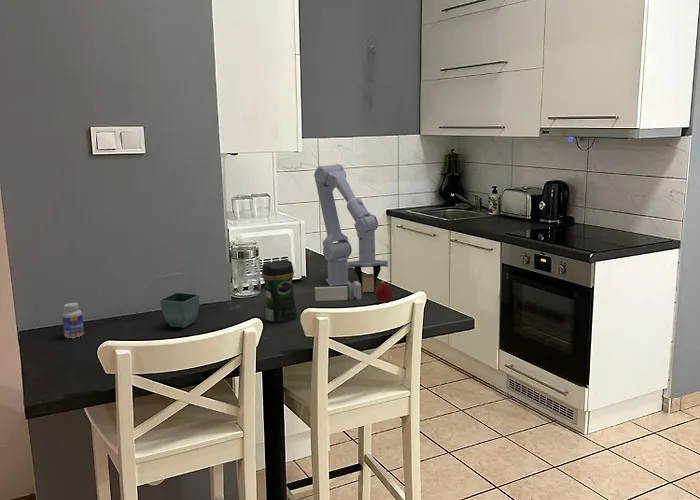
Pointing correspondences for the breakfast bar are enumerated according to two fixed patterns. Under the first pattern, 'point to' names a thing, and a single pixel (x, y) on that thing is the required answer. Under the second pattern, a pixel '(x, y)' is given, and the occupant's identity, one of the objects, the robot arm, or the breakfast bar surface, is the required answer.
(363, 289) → the rubber block
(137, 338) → the breakfast bar surface
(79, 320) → the pill bottle
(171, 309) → the flower pot
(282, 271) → the coffee jar
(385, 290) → the onion
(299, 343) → the breakfast bar surface
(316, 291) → the grey rectangular bar
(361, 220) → the robot arm
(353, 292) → the grey boxy piece
